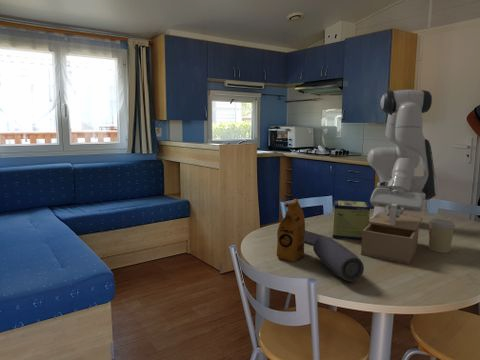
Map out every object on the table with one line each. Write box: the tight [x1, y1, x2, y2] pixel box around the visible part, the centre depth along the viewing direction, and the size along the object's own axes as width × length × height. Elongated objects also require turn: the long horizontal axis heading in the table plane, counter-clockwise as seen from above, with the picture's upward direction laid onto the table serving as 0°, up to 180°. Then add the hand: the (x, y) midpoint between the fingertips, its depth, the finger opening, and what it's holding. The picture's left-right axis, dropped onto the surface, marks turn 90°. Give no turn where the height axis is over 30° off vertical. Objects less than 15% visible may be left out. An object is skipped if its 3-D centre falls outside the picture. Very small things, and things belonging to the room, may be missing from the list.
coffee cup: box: [428, 218, 456, 254], centre depth 160 cm, size 9×9×12 cm
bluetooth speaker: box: [312, 235, 365, 282], centre depth 136 cm, size 23×9×10 cm, turn 12°
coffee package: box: [276, 198, 306, 262], centre depth 149 cm, size 10×12×22 cm
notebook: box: [304, 230, 333, 247], centre depth 174 cm, size 13×2×21 cm
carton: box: [360, 224, 420, 265], centre depth 156 cm, size 20×18×10 cm
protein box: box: [331, 200, 371, 241], centre depth 176 cm, size 10×16×16 cm
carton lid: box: [369, 204, 423, 231], centre depth 163 cm, size 20×18×9 cm
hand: (393, 216), depth 156 cm, fingers closed on carton lid, 2 cm apart
